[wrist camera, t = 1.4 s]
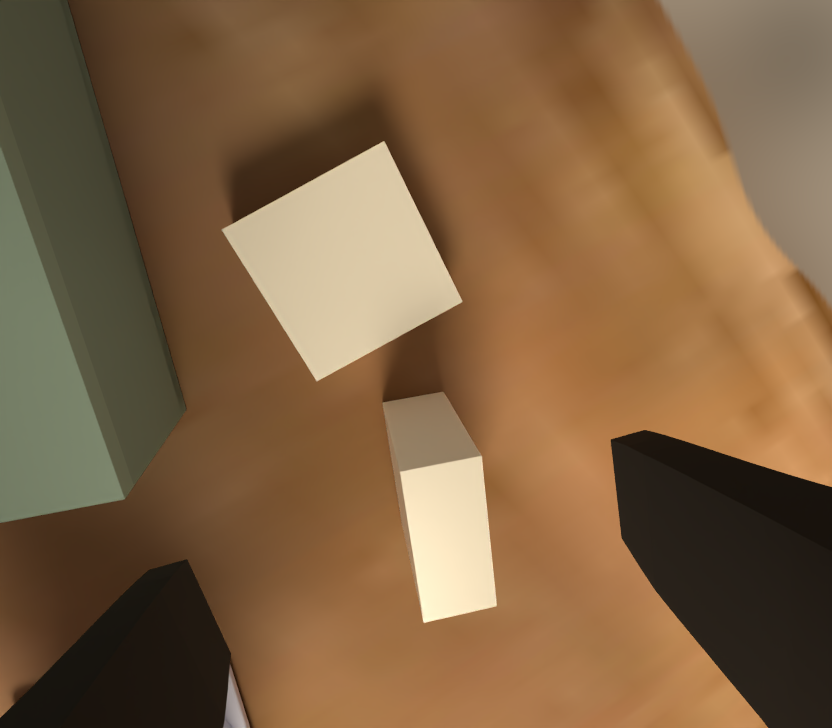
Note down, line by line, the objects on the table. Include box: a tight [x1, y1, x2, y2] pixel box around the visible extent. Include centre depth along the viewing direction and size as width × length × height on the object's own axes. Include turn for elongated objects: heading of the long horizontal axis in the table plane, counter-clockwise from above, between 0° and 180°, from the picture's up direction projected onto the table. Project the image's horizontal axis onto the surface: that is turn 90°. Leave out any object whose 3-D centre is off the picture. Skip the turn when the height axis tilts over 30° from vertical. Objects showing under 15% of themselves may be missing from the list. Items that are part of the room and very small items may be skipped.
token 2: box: [382, 392, 497, 623], centre depth 17 cm, size 5×2×5 cm, turn 8°
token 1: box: [222, 141, 462, 381], centre depth 16 cm, size 5×5×2 cm
